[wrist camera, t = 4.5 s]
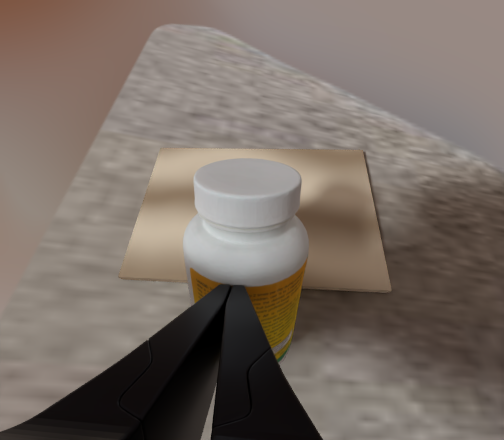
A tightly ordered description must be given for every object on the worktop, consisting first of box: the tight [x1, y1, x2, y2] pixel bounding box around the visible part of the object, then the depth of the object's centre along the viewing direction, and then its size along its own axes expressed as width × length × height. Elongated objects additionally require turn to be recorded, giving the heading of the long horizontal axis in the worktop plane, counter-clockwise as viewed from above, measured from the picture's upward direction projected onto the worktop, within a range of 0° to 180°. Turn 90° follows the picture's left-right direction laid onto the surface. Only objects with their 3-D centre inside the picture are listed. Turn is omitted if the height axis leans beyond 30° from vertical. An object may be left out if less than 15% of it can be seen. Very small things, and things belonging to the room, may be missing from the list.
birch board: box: [118, 148, 392, 293], centre depth 19 cm, size 12×18×1 cm, turn 86°
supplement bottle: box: [183, 158, 309, 365], centre depth 12 cm, size 5×5×10 cm
